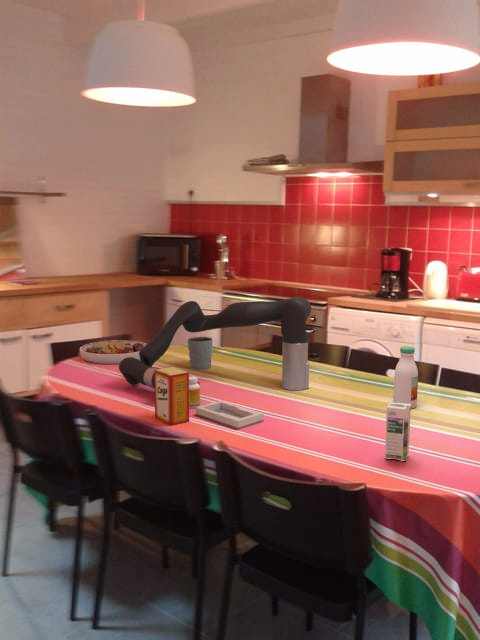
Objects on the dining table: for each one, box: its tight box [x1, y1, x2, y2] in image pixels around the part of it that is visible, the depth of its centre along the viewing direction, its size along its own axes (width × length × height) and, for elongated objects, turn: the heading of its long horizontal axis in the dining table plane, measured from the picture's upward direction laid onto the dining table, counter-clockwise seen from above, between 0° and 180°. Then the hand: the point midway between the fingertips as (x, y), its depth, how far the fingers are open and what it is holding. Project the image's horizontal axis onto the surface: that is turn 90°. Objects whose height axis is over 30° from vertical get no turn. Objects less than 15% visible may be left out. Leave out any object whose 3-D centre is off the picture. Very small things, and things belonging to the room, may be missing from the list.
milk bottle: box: [392, 345, 419, 409], centre depth 223 cm, size 8×8×20 cm
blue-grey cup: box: [187, 336, 213, 371], centre depth 276 cm, size 10×10×12 cm
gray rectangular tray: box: [195, 400, 264, 430], centre depth 211 cm, size 19×11×3 cm, turn 44°
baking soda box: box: [154, 366, 190, 427], centre depth 208 cm, size 10×6×16 cm
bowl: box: [79, 339, 148, 365], centre depth 294 cm, size 30×30×8 cm
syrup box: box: [384, 401, 412, 462], centre depth 178 cm, size 6×6×14 cm
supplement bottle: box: [189, 376, 201, 409], centre depth 223 cm, size 5×5×10 cm
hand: (189, 387), depth 224 cm, fingers open, 8 cm apart
